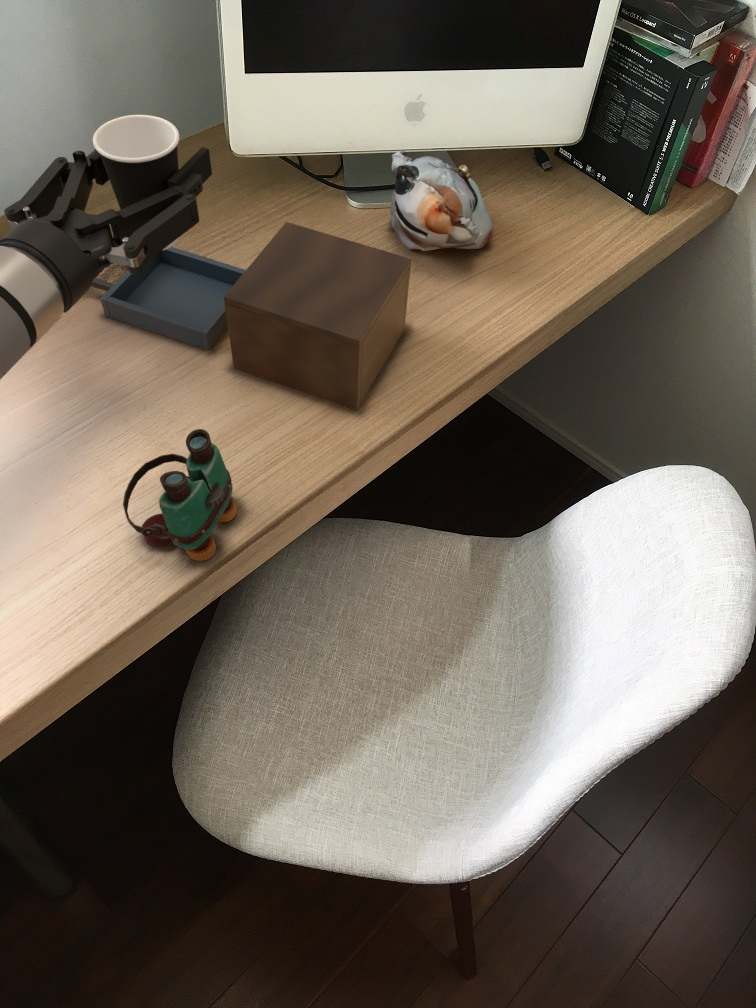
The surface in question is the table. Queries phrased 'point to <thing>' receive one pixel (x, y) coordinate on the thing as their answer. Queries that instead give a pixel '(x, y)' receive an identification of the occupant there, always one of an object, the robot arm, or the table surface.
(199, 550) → the binoculars
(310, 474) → the table surface
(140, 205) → the robot arm
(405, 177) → the lucky cat figurine
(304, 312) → the drawer unit
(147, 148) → the dixie cup
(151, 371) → the table surface
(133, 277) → the drawer
